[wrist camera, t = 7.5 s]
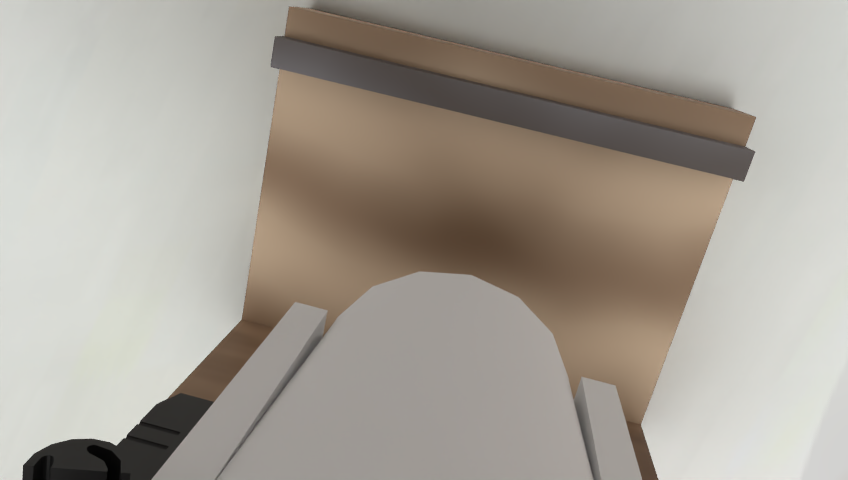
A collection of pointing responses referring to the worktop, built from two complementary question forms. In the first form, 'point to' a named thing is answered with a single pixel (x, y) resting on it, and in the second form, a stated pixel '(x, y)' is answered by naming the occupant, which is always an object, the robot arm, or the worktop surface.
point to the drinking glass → (424, 393)
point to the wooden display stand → (483, 195)
